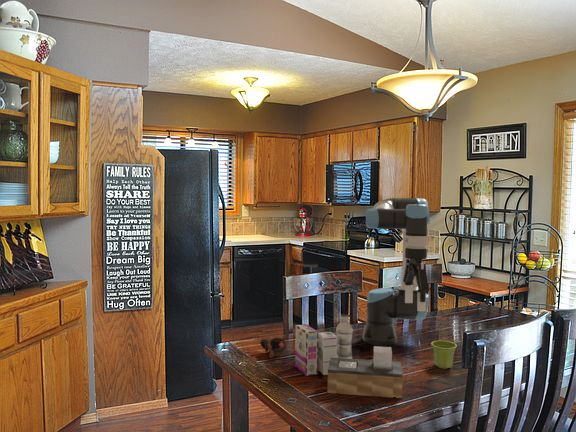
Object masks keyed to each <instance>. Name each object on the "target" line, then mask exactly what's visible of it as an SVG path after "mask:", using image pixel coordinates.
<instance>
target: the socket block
mask: <svg viewBox="0 0 576 432" xmlns="http://www.w3.org/2000/svg"><path fill="white" fill-rule="evenodd" d="M339 361H347V362H357V369H354V368H338V367H339ZM403 375H404V374H403V370H402V363H401V361H393V360H392V371H385V370H373V359H360V358H353V359H346V358H330V362H329V367H328V375H327V393H328V394H337V393H338V394H340V395H354V396H355V395H356V396H366V397H367V396H369V397H379V396H380V398H381V397H382V398H393V397H396V398H395V399H403V377H404V376H403Z"/></svg>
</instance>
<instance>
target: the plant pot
mask: <svg viewBox="0 0 576 432" xmlns="http://www.w3.org/2000/svg"><path fill="white" fill-rule="evenodd" d="M430 344H431V346H432V349H433V357H434V364H435V366H436V367H438V368H439V369H445V370H446V369H448V368H450V369H451V368H452V367H453V361H454V355H455V351H456V349H457V344H456V343H455V342H452V341H449V340H434V341H432V342H431V343H430Z"/></svg>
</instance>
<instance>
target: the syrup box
mask: <svg viewBox="0 0 576 432" xmlns="http://www.w3.org/2000/svg"><path fill="white" fill-rule="evenodd" d="M337 347H338V343H337V334H335V333H334V332H332V331H322V332H318V368H317V371H318V372H319V373H321V374H322V375H323V376H328V367H329V362H330V358H337Z"/></svg>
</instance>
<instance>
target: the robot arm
mask: <svg viewBox="0 0 576 432" xmlns="http://www.w3.org/2000/svg"><path fill="white" fill-rule="evenodd" d="M429 208H430V207H429V203H428V201H427V200H426V198H421V197H420V198H418V197H390V198H385V199H382V200H380V201H378V202H376V203H375V204H374V205H373V207H372V208H368V209H366V211H365V213H366V214H365V226H366V228H367V229H373V230H376V229H377V230H378V229H382V230H383V229H385V230H386V229H387V230H388V229H393V230H401V231H402V272H401V273H402V274H401V275H402V277H401V281H402V282H401V285H400V287H399V288H398V292H397V291H396V292H395V291H394V288H390V287H389V288H388V287H381V288H375V289H371V290H370V291H368V293H367V295H366V296H367V297H366V303H367V304H366V324H365V327H364V329H363V333H362V341H363V342H364V343H366V344H369V345H373V346H381V347H384V346H393V345H394V344H396V343H397V341H398V340H397V339H398V337H397V334H396V330H395V327H394V319H395V320H409V321H410V320H412V321H423V320H425V319H426V317H427V312H428V309H429V308H428V307H429V299H430V295H429V294H428V293H427V292H429V291H430V288H429V281H428V275H427V264H426V263H425V262H423V260H426V259H427V258H428V257H427V256H428V249H427V247H428V225H430V223H431V221H430V218H431V217H430V211H429Z"/></svg>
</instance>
